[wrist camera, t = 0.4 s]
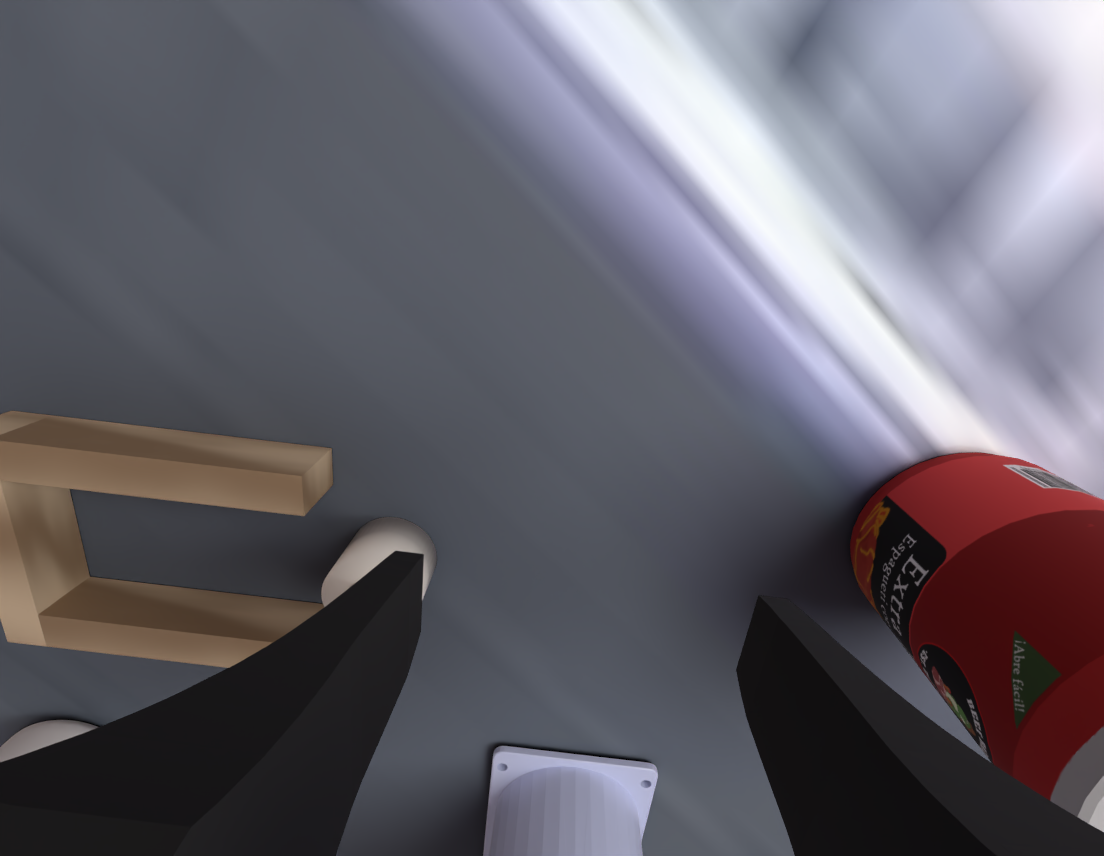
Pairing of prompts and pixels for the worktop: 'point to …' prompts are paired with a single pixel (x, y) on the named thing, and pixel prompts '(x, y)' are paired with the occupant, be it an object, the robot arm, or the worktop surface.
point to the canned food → (999, 610)
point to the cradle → (152, 472)
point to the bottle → (378, 553)
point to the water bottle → (41, 736)
